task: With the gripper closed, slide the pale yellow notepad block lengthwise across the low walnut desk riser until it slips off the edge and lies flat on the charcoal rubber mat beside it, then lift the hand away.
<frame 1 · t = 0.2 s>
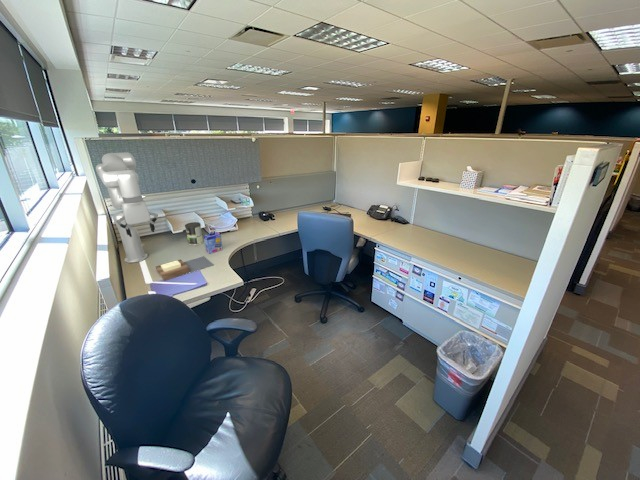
hand: (141, 233, 135), 30 cm above the table, tool pointing down, fingers open, 9 cm apart
coffee can: (196, 242, 201), on the table
mat: (197, 264, 170), on the table
ink cartridge box: (214, 251, 188), on the table
riser: (173, 271, 161), on the table
notepad: (171, 267, 160), point 3 cm above the table, touching riser
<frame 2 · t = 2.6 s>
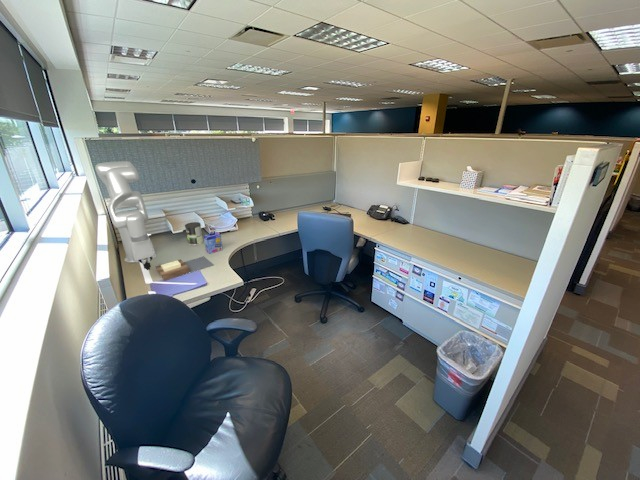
hand: (148, 269, 151), 6 cm above the table, tool pointing down, fingers closed
nothing on the table moved.
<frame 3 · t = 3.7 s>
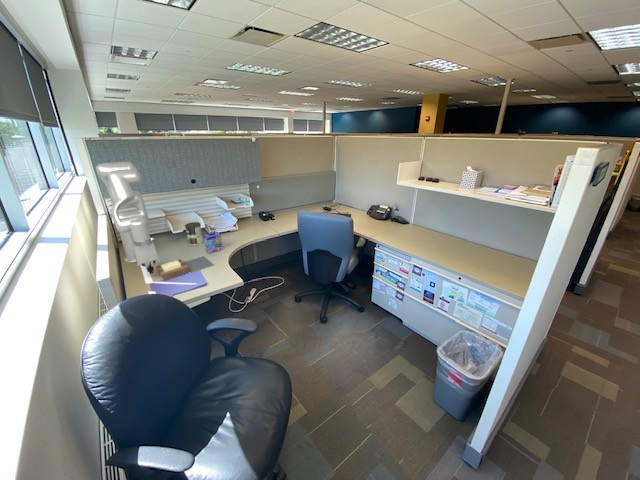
hand: (151, 272, 153), 4 cm above the table, tool pointing down, fingers closed
nothing on the table moved.
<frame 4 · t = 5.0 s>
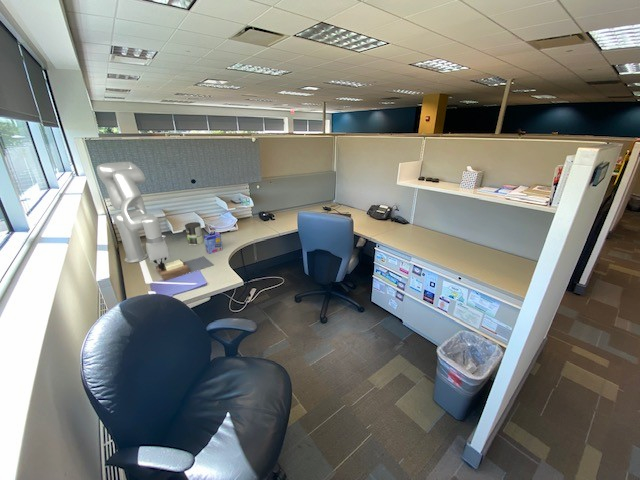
hand: (162, 269, 157), 4 cm above the table, tool pointing down, fingers closed
notepad: (173, 266, 161), point 3 cm above the table, touching gripper, riser
everything else where it was.
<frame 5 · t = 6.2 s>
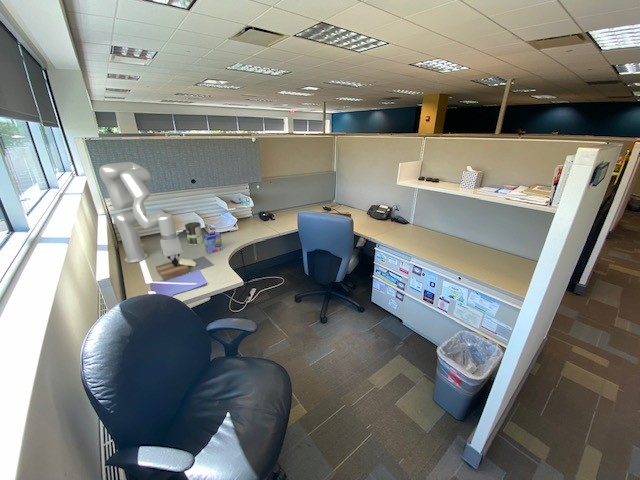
hand: (175, 265, 161), 4 cm above the table, tool pointing down, fingers closed
notepad: (185, 263, 165), point 3 cm above the table, tilted 30°, touching riser
everything else where it was.
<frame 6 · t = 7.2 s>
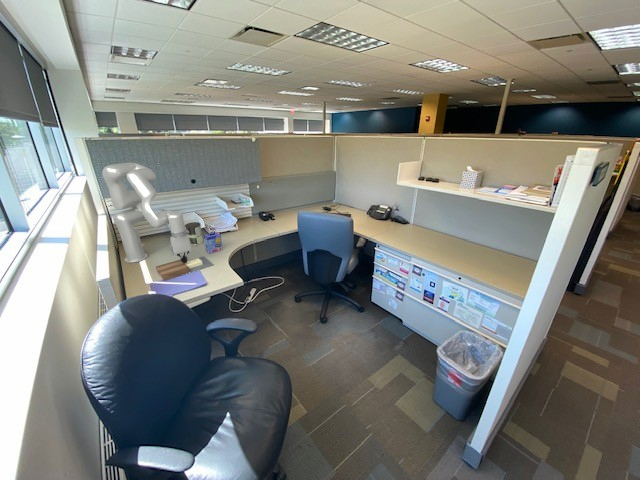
hand: (184, 262, 164), 4 cm above the table, tool pointing down, fingers closed
notepad: (193, 264, 169), resting on mat
everything else where it was.
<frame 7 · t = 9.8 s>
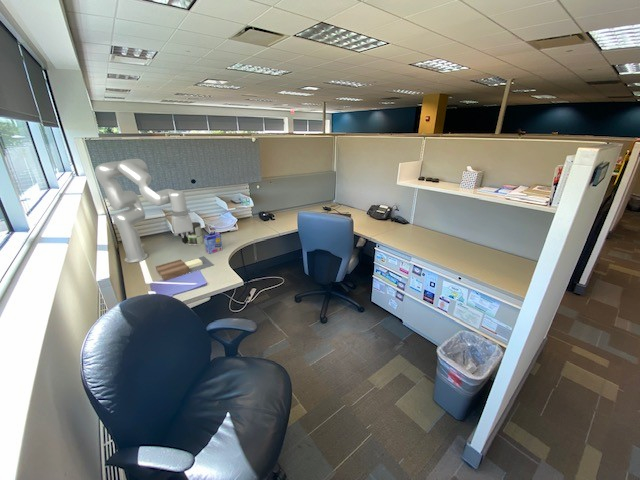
hand: (185, 242, 162), 16 cm above the table, tool pointing down, fingers closed
nothing on the table moved.
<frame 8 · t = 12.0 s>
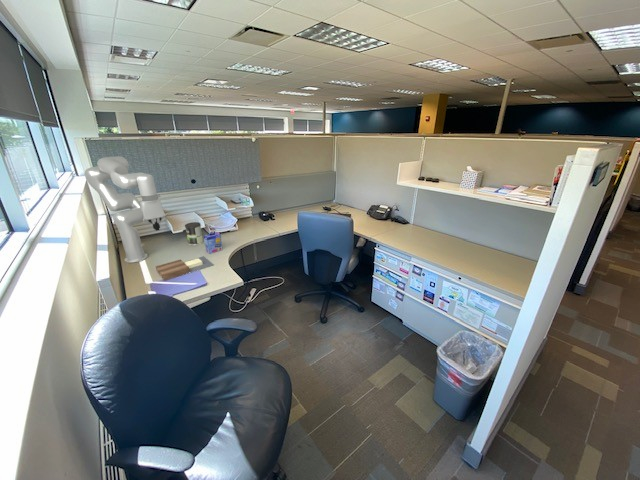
hand: (157, 229, 154), 25 cm above the table, tool pointing down, fingers closed
nothing on the table moved.
at the end: notepad inside the target area on the mat (2.3 cm from its centre), point 0.3 cm above the mat's base; notepad tilted 0° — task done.
